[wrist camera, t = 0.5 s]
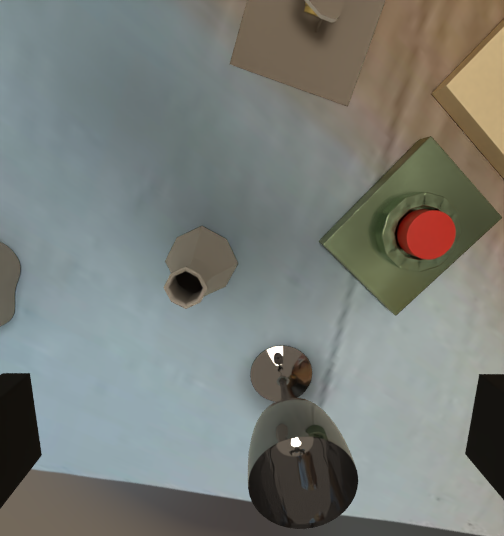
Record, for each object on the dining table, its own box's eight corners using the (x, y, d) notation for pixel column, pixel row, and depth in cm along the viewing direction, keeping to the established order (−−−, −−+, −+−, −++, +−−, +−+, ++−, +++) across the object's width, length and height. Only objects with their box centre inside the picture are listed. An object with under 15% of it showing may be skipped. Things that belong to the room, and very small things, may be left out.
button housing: (419, 139, 33) (442, 132, 30) (486, 216, 35) (517, 219, 31) (318, 241, 35) (327, 247, 32) (387, 309, 37) (403, 322, 33)
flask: (202, 213, 35) (185, 221, 25) (250, 263, 36) (252, 290, 26) (153, 260, 36) (118, 286, 26) (201, 307, 37) (186, 349, 27)
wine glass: (300, 331, 38) (335, 419, 23) (325, 389, 39) (373, 506, 25) (235, 358, 38) (229, 461, 24) (263, 414, 40) (273, 543, 25)
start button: (422, 199, 31) (434, 199, 29) (452, 231, 32) (466, 234, 30) (387, 233, 32) (396, 236, 30) (417, 264, 33) (428, 269, 31)
